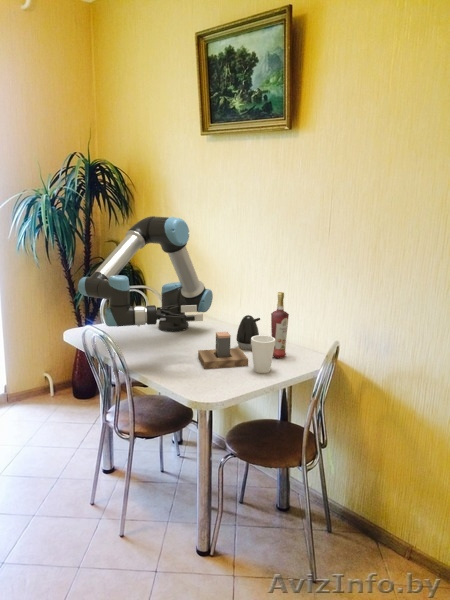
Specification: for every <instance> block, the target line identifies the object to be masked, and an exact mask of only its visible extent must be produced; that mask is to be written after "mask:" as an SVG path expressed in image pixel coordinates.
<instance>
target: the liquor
mask: <svg viewBox="0 0 450 600" xmlns="http://www.w3.org/2000/svg"><path fill="white" fill-rule="evenodd" d="M284 298H285V292H284V291H283V292H282V291H281V292H280V291H279V292H277V304H276V310H274V311H273V312H271V313H270V315H271V317H270V321H271V322H270V323H271V324H270V325H271V326H270V327H271V330H270V331H271V337H273V338H275V346H274V352H273V357H272V358H275V359H283V358H285V356H287V352H286V348H287V334H288V328H289V327H288V326H289V316H290V314H289V313H288V312H287V311H285V310H284V309H285V308H284V307H285V306H284Z"/></svg>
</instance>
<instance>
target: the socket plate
mask: <svg viewBox="0 0 450 600" xmlns="http://www.w3.org/2000/svg"><path fill="white" fill-rule="evenodd" d="M197 352H198V353H197V355H198V356H197V357H198V360H199V362H200V363H201V365H202V367H203V369H204V370H211V369H213V370H214V369H224V368H226V369H227V368H228V369H229V368H238V367H239V368H240V367H241V368H243V367H249V358H248V357H247V355H246V354H245V353H244V352H243V351H242V348H241V347H235V348H234V347H233V348H231V347H230V357H222V358H217V357H216V348H214V349H202V350H201V349H200V350H199V349H198V351H197Z"/></svg>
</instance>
